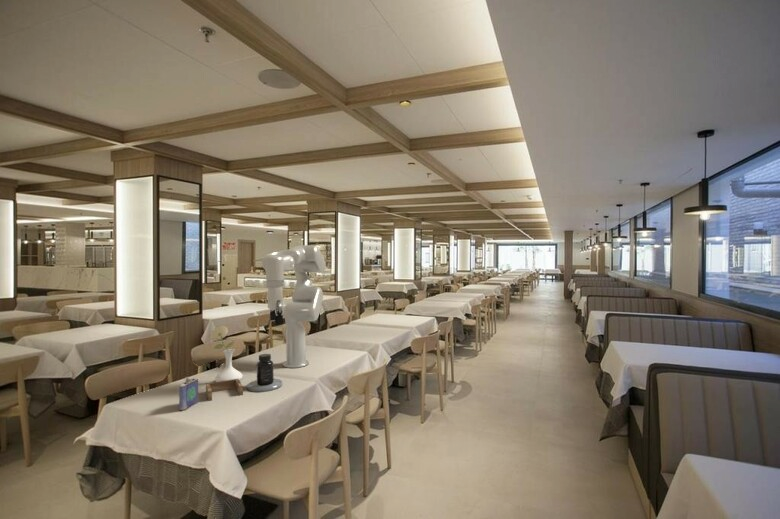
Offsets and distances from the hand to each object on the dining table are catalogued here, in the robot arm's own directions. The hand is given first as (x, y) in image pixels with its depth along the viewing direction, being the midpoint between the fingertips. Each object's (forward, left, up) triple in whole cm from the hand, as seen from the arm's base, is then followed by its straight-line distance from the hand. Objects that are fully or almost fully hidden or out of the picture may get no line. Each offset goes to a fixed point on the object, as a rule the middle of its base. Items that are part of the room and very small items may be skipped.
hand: (276, 322), depth 172 cm
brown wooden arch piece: (+7, -23, -26) cm, 35 cm away
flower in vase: (-9, -20, -26) cm, 34 cm away
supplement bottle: (+6, -6, -25) cm, 26 cm away
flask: (+14, -36, -26) cm, 46 cm away
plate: (+6, -7, -26) cm, 27 cm away
